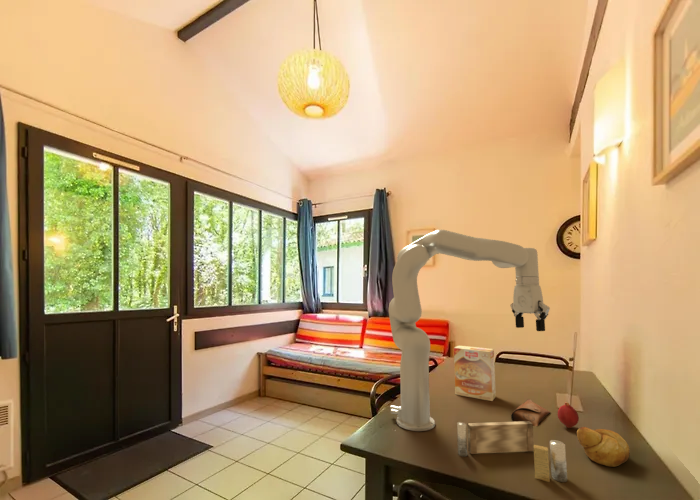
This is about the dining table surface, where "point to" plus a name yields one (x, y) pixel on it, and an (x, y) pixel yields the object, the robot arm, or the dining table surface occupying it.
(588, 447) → the bread roll
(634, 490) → the dining table surface
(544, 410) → the sunglasses case
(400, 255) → the robot arm
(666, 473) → the dining table surface
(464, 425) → the hinge post
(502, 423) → the strip
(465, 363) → the coffeecake box
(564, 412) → the red round fruit
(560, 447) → the slab and cylinder
